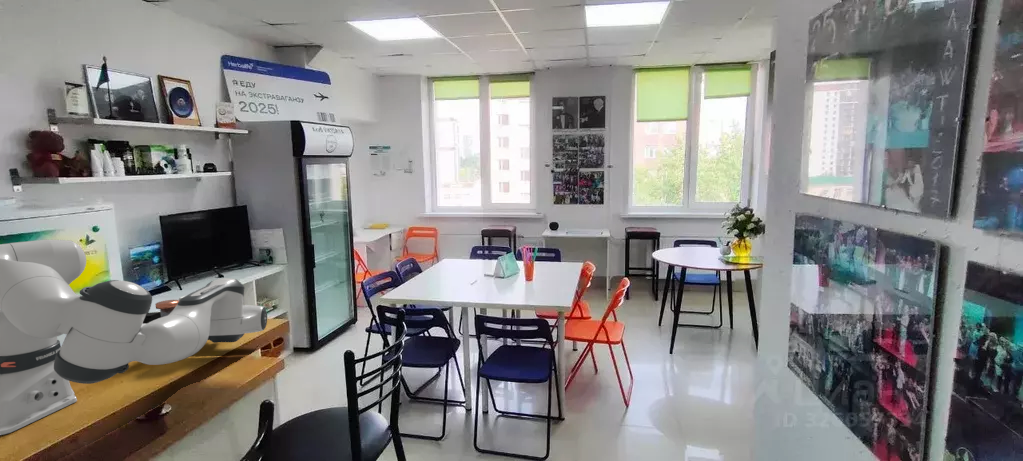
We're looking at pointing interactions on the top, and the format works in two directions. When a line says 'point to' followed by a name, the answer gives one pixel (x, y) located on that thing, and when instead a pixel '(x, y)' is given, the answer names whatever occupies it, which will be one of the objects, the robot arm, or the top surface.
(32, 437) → the top surface
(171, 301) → the copper capped grey cylinder
